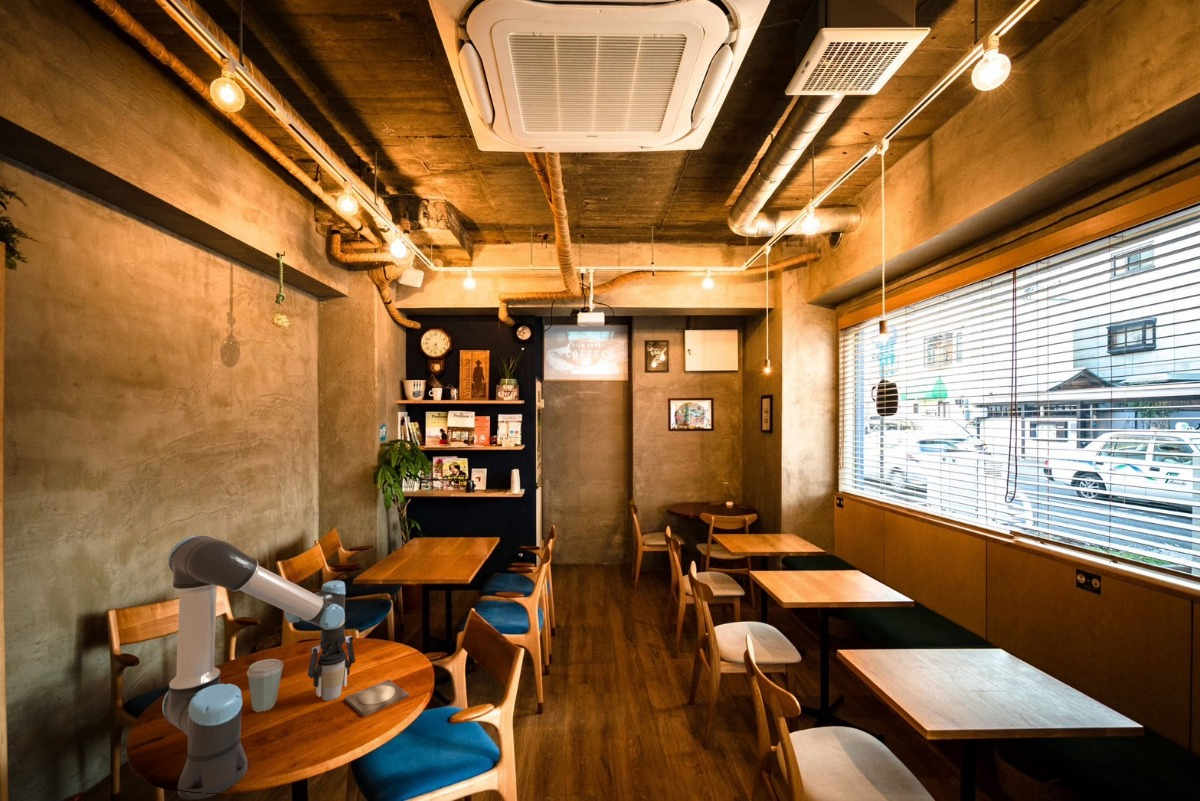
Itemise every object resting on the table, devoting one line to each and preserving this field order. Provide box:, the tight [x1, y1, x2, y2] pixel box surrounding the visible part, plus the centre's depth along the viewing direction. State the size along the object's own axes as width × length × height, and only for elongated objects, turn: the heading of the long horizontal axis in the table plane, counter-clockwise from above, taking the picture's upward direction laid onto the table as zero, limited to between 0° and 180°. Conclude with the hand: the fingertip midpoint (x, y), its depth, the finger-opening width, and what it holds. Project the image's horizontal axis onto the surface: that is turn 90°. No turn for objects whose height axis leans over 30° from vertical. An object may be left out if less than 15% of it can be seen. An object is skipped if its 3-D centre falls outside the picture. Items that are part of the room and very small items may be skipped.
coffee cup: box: [316, 650, 348, 702], centre depth 179 cm, size 9×9×15 cm
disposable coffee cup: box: [246, 658, 284, 713], centre depth 172 cm, size 11×11×15 cm
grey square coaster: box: [344, 679, 410, 718], centre depth 177 cm, size 16×15×2 cm
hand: (331, 689), depth 179 cm, fingers closed on coffee cup, 8 cm apart
